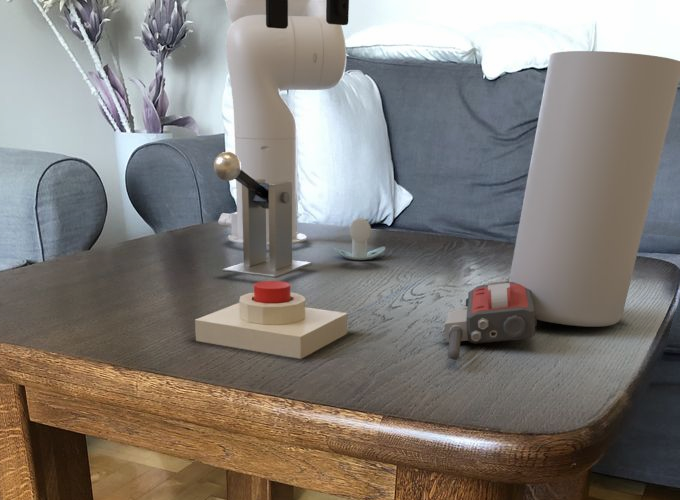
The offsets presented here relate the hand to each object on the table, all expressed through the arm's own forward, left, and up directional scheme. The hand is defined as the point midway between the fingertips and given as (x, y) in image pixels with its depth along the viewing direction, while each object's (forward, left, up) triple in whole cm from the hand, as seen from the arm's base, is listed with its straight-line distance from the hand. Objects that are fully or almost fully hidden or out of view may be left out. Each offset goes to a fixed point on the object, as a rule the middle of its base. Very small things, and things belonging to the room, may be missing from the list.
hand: (306, 26), depth 96 cm
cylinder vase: (+35, -6, -29) cm, 46 cm away
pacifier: (+3, +10, -29) cm, 31 cm away
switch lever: (-5, -7, -18) cm, 20 cm away
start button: (+11, -28, -25) cm, 39 cm away
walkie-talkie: (+31, -18, -29) cm, 46 cm away
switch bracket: (-5, -2, -29) cm, 30 cm away
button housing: (+11, -28, -29) cm, 42 cm away
